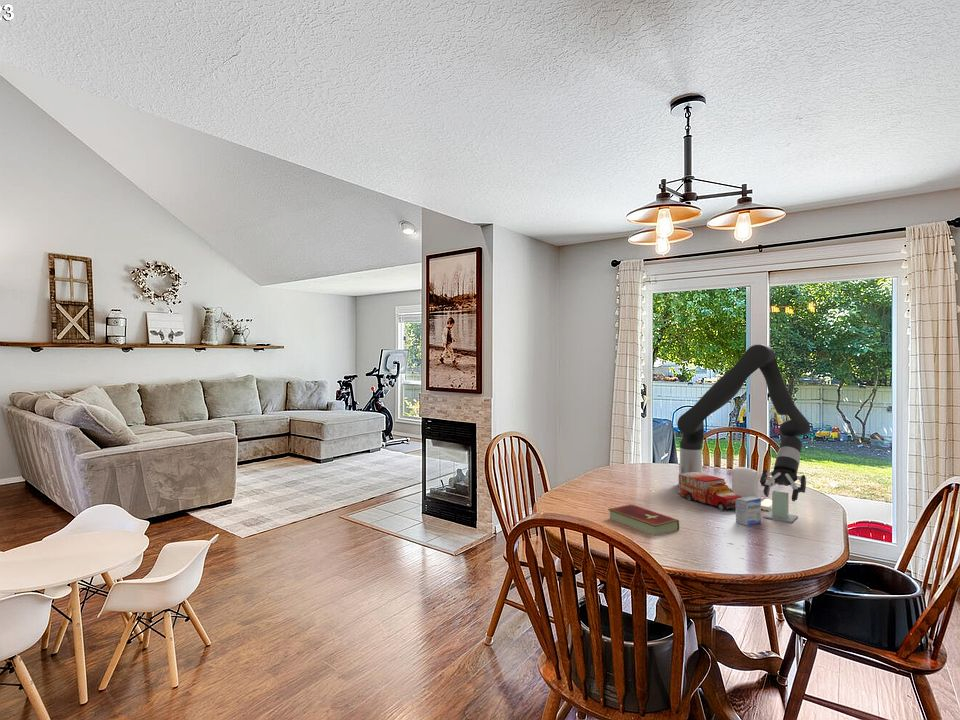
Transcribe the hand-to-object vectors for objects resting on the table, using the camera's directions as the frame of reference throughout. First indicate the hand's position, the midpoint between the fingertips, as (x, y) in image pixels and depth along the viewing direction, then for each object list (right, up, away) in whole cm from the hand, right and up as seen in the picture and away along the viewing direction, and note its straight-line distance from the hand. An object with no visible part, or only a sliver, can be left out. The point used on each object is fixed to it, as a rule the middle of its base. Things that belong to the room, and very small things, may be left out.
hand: (779, 497), depth 180 cm
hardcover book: (-52, -8, -6) cm, 53 cm away
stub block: (+1, -7, +1) cm, 7 cm away
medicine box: (-14, -8, -5) cm, 17 cm away
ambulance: (-16, -8, +20) cm, 27 cm away
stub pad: (+1, -7, +1) cm, 8 cm away
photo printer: (+3, -8, +28) cm, 29 cm away
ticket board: (+4, -7, +14) cm, 17 cm away
